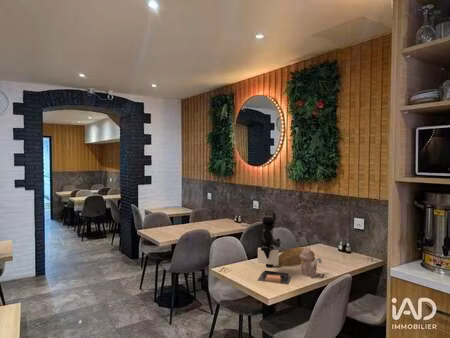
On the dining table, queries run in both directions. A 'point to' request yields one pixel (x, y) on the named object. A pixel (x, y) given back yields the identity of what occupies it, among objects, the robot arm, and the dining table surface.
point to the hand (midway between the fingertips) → (268, 258)
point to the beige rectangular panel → (272, 257)
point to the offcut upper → (273, 277)
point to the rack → (284, 276)
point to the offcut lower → (273, 281)
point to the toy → (308, 263)
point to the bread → (291, 257)
